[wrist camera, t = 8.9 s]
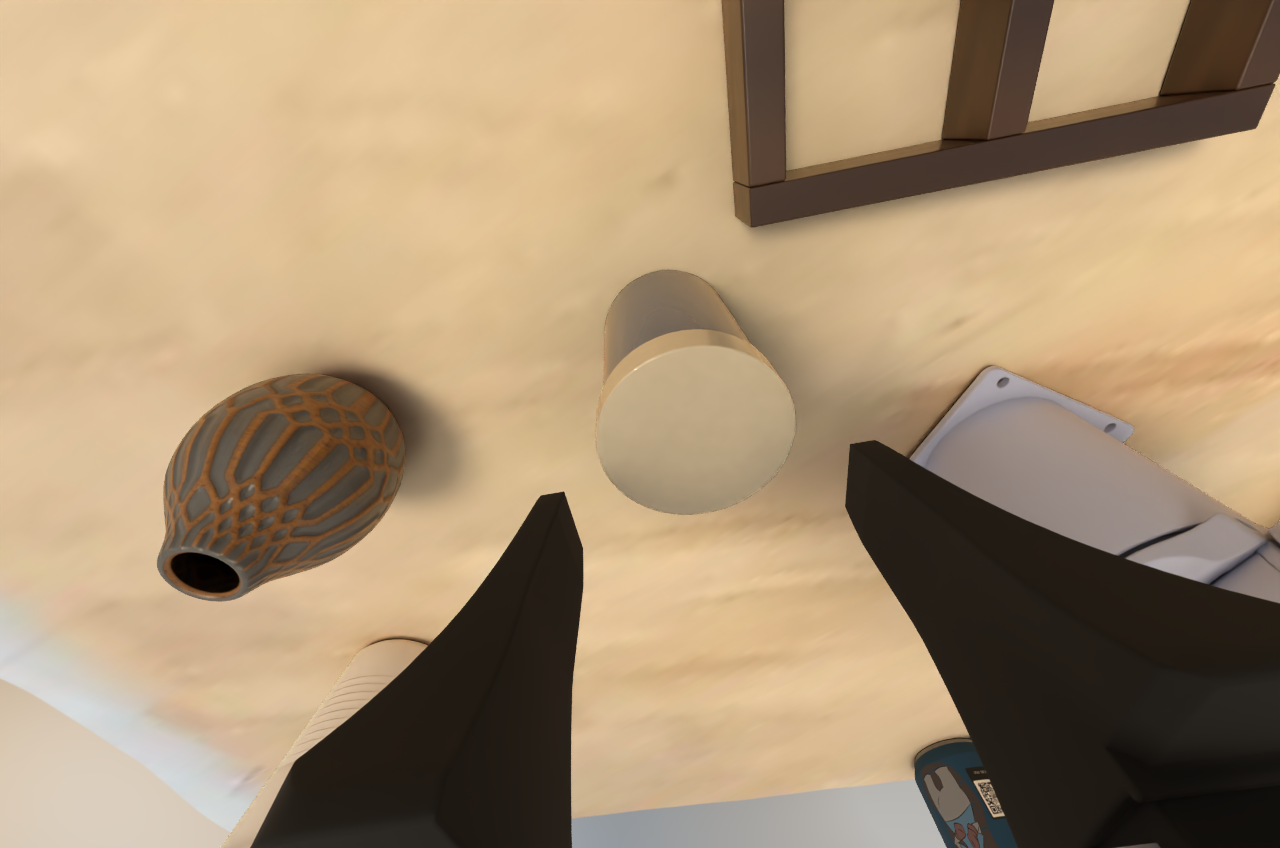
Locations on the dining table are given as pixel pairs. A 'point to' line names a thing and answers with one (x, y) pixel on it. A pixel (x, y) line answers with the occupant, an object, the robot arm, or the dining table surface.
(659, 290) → the jar
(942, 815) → the soda can
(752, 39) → the jar stand
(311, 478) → the vase
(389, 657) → the cup
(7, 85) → the dining table surface
